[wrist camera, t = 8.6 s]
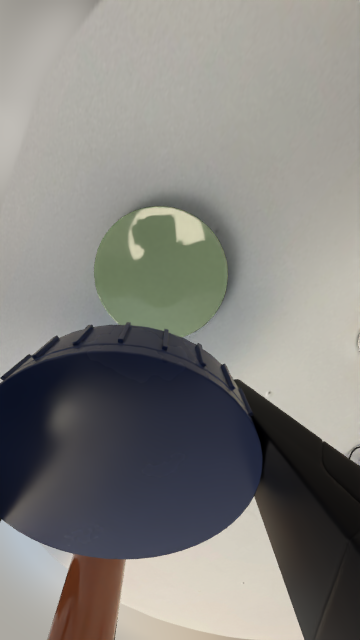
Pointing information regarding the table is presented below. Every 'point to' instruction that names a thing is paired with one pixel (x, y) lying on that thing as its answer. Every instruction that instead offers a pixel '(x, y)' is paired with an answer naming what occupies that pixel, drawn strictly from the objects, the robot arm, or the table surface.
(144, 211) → the saucer
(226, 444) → the jar lid
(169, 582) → the table surface
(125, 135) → the table surface
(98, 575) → the jar
